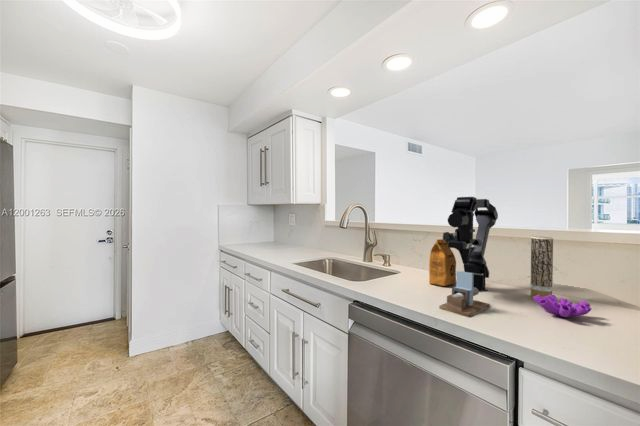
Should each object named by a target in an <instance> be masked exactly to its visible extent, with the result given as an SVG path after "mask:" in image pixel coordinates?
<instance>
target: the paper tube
mask: <svg viewBox="0 0 640 426" xmlns="http://www.w3.org/2000/svg"><path fill="white" fill-rule="evenodd" d="M530 239H531V240H530V297H531V299H533V297H534V296H536V295H540V296H541V297H545V296H548V295H553V282H554V281H553V279H554V277H553V275H554V273H553V272H554V266H553V262H554V238H553V237H552V236H551V237H550V236H536V235H535V236H531V237H530Z"/></svg>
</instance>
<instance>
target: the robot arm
mask: <svg viewBox="0 0 640 426" xmlns="http://www.w3.org/2000/svg"><path fill="white" fill-rule="evenodd" d="M484 208H485V209H484ZM498 215H499V214H498V211H497V208H496V206H494V205H493V204H491V202H490V200H489V199H487V198H477V197H475V196H460V197H459V196H458V197H456V199H455V200H454V203H453V206H452V208H451V214H449V215H448V217H447V223H448V225H449V226H450V227H452V228H455V230H454V232H451V233H450V232H449V231H446V232H443V234H442V239H444V240H445V242H446V243H447V242H448V246H447V247H449V248H450V249H453V248H454V249H456V250H457V251H458V252H459V255H460V257H461V261H462V263H463V269H464V270H463V272H468V273H474V280H473V287H475V288H477V289H478V290H479V292H488V291H489V289H487V288H486V279H488V278H490V270H489V269H488V268H489V267H488V266H487V261H486V258H485V253H486V248H487V247H486V246H487V242H488V238H489V234H490V229H491V228H492V227H493V226H495V225H496V222H497V220H498V218H499V217H498ZM474 216H475V218H476V219H475V220H476V223H477V224H478V227H477V229H474ZM474 232H476V235H475V238H474Z"/></svg>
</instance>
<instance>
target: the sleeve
mask: <svg viewBox="0 0 640 426" xmlns="http://www.w3.org/2000/svg"><path fill="white" fill-rule="evenodd" d="M473 280H474V273H468V272H464V271H461V270H456V282H455V283H456V284H455V287H456V288H460V289H465V290H469V291H470V302H469V306H471V305H473V300H474V296H473ZM457 293H458V291H456V294H457Z"/></svg>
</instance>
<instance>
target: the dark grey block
mask: <svg viewBox="0 0 640 426" xmlns="http://www.w3.org/2000/svg"><path fill="white" fill-rule="evenodd" d="M456 291H458V292H462V293H465V298H466V307H468V306H469V302H470V291H469V290H465V289H460V288H456V286H454V287H451V295H454V294H456Z"/></svg>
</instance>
